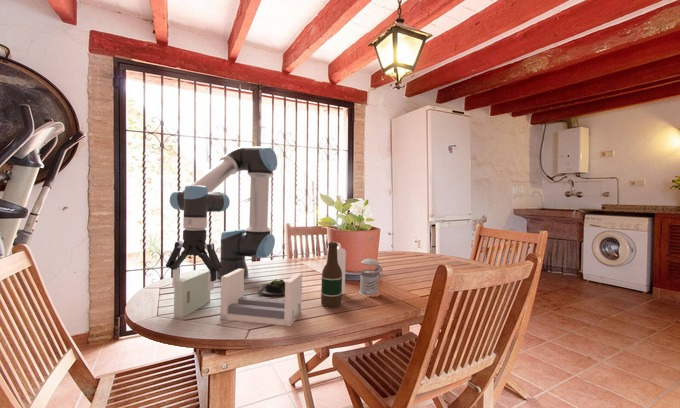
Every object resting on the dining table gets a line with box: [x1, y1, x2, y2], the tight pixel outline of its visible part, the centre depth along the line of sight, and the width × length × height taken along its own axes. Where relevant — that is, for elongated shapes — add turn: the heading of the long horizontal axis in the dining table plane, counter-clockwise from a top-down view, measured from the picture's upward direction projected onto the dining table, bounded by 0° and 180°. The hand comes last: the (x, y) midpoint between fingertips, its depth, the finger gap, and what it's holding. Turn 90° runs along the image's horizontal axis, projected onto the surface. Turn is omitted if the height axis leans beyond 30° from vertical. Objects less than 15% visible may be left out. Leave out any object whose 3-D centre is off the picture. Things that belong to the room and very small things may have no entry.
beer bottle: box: [320, 241, 342, 309], centre depth 117 cm, size 8×8×24 cm
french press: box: [358, 236, 383, 295], centre depth 132 cm, size 10×12×25 cm
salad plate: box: [257, 278, 286, 298], centre depth 134 cm, size 19×18×5 cm
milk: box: [325, 241, 347, 295], centre depth 131 cm, size 6×6×22 cm
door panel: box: [173, 269, 211, 319], centre depth 109 cm, size 16×3×12 cm, turn 171°
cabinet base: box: [219, 269, 303, 327], centre depth 105 cm, size 24×12×14 cm, turn 81°
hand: (193, 288), depth 108 cm, fingers open, 13 cm apart
